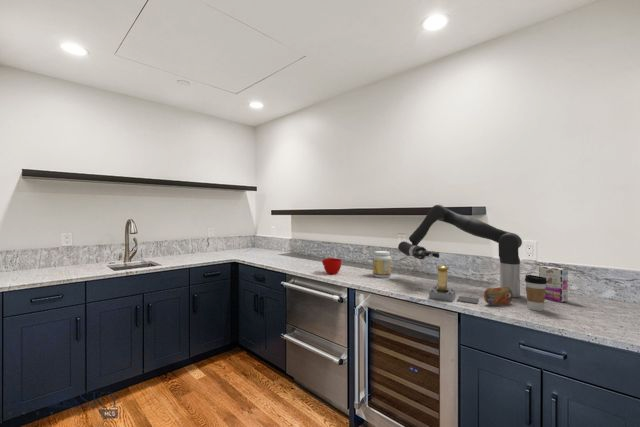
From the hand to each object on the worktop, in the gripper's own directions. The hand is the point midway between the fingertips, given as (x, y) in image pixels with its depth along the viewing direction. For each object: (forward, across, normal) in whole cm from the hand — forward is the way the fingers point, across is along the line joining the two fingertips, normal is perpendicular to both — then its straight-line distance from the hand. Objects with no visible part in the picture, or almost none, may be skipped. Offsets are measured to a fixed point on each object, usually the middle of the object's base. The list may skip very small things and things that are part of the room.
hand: (431, 256), depth 171 cm
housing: (+12, 0, +20) cm, 23 cm away
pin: (+12, 0, +20) cm, 23 cm away
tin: (+26, +21, +20) cm, 39 cm away
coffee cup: (+35, +33, +20) cm, 52 cm away
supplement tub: (-44, -12, +21) cm, 50 cm away
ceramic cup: (-58, -46, +21) cm, 77 cm away
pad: (+18, +10, +20) cm, 29 cm away
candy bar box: (+22, +55, +20) cm, 63 cm away
